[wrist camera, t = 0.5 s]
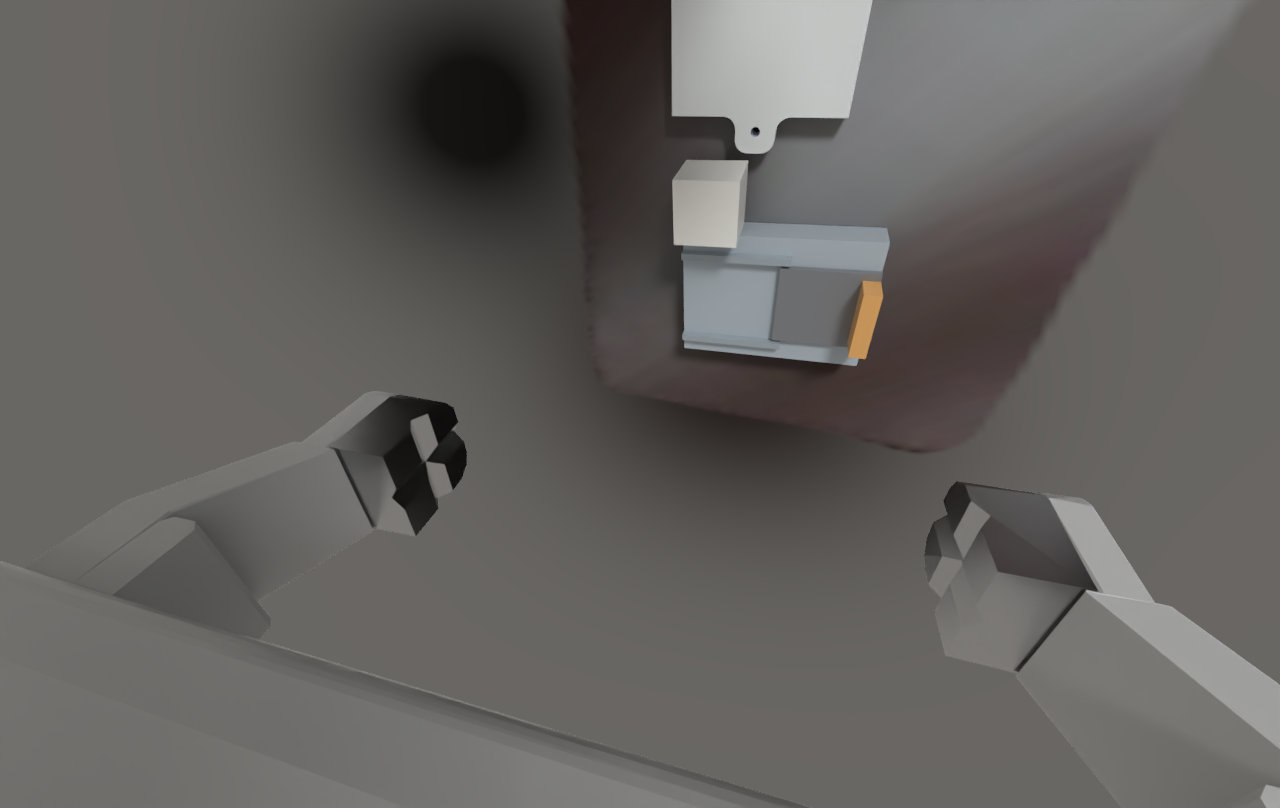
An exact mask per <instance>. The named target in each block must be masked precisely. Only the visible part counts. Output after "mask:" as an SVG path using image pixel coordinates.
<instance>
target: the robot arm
mask: <svg viewBox="0 0 1280 808" xmlns="http://www.w3.org/2000/svg"><path fill="white" fill-rule="evenodd" d="M457 424H458V419H457V416H456V413H455V410H454V407H452V406H450V405H448V404H447V403H444V402H438V401H432V400H427V399H421V398H416V397H410V396H404V395H396V394H391V393H385V392H380V391H374V392H368V393H366V394H364V395H363V396H361V397H360V398H359V399H358V400H356V401H355V402H354V403H352V404H351V405H350V406H348V407H347V408H346V409H344V410H343V411H342V412H341V413H339V414H338V415H337V416H335V417H334V418H333V419H331V420H330V421H329V422H327V423H326V424H325V425H324V426H322V427H321V428H320V429H318V430H317V431H316V432H314V433H313V434H312V435H311V436H309V437H308V438H307V439H305V440H304V441H303V442H301V443H298V442H291V443H288V444H285V445H283V446H280V447H277V448H274V449H271V450H268V451H265V452H263V453H260V454H257V455H254V456H251V457H248V458H246V459H243V460H240V461H237V462H234V463H232V464H229V465H226V466H223V467H220V468H217V469H214V470H212V471H209V472H206V473H203V474H200V475H197V476H194V477H192V478H189V479H186V480H183V481H180V482H177V483H174V484H172V485H169V486H166V487H163V488H160V489H157V490H155V491H152V492H149V493H146V494H143V495H141V496H138V497H135V498H132V499H129V500H127V501H124V502H122V503H121V504H119V505H118V506H116V507H115V508H113V509H112V510H110V511H109V512H107V513H106V514H104V515H102V516H101V517H99V518H98V519H97V520H95V521H93V522H92V523H90V524H89V525H87V526H86V527H84V528H83V529H81V530H80V531H78V532H77V533H75V534H74V535H72V536H71V537H69V538H68V539H66V540H64V541H63V542H61V543H60V544H58V545H57V546H55V547H54V548H52V549H51V550H49V551H48V552H46V553H45V554H43V555H42V556H40V557H39V558H37V559H36V560H34V561H33V562H31V563H30V564H28V565H27V566H25V567H24V568H21V567H18V566H15V565H11V564H8V563H5V562H1V561H0V808H812V807H808V806H805V805H802V804H798V803H795V802H792V801H788V800H785V799H782V798H779V797H775V796H772V795H769V794H765V793H762V792H759V791H756V790H752V789H749V788H745V787H742V786H739V785H736V784H732V783H729V782H726V781H723V780H719V779H716V778H713V777H710V776H706V775H703V774H700V773H696V772H693V771H690V770H687V769H683V768H680V767H676V766H673V765H670V764H667V763H663V762H660V761H657V760H654V759H650V758H647V757H644V756H640V755H637V754H634V753H630V752H627V751H624V750H620V749H617V748H614V747H611V746H607V745H604V744H600V743H597V742H594V741H591V740H588V739H584V738H581V737H578V736H575V735H571V734H568V733H564V732H562V731H558V730H555V729H551V728H548V727H545V726H542V725H538V724H535V723H531V722H528V721H525V720H522V719H519V718H515V717H512V716H509V715H505V714H502V713H499V712H496V711H492V710H489V709H486V708H483V707H479V706H476V705H473V704H469V703H466V702H463V701H460V700H456V699H453V698H449V697H446V696H443V695H440V694H436V693H433V692H430V691H427V690H423V689H420V688H417V687H413V686H410V685H407V684H404V683H400V682H397V681H394V680H390V679H387V678H384V677H380V676H377V675H374V674H371V673H367V672H364V671H360V670H357V669H354V668H351V667H347V666H344V665H341V664H337V663H334V662H331V661H328V660H324V659H321V658H318V657H314V656H311V655H308V654H305V653H301V652H298V651H295V650H291V649H288V648H285V647H281V646H278V645H275V644H272V643H268V642H265V641H261V640H259V639H260V638H261V637H262V636H263V635H264V634H265V633H266V632H267V630H268V629H269V628H270V626H271V618H270V616H269V615H268V614H267V613H266V611H265V610H264V609H263V607H262V606H261V605H260V604H259V602H258V601H260V600H261V599H263V598H265V597H266V596H268V595H269V594H271V593H273V592H274V591H276V590H278V589H279V588H281V587H283V586H284V585H286V584H288V583H289V582H291V581H292V580H294V579H296V578H297V577H299V576H301V575H302V574H304V573H306V572H307V571H309V570H310V569H312V568H314V567H315V566H317V565H318V564H320V563H322V562H323V561H325V560H327V559H328V558H330V557H332V556H333V555H335V554H336V553H338V552H340V551H341V550H343V549H345V548H346V547H348V546H350V545H351V544H353V543H354V542H356V541H358V540H359V539H361V538H363V537H364V536H366V535H368V534H369V533H371V532H372V531H373V528H374V529H379V530H385V531H390V532H395V533H400V534H406V535H411V536H417V535H418V533H419V532H420V531H421V530H422V528H423V527H424V526H425V525H426V523H427V522H428V521H429V520H430V518H431V517H432V516H433V515H434V514H435V512H436V511H437V510H438V507H439V506H438V498H439V497H441V496H443V495H445V494H447V493H449V492H451V491H453V490H454V488H455V487H456V486H457V484H458V483H459V482H460V481H461V479H462V477H463V474H464V471H465V468H466V465H467V451H466V447H465V443H464V441H463V440H462V439H461V438H460V437H459V436H458V435H457V433H456V432H455V431H454V429H455V428H456V426H457ZM943 501H944V505H945V508H946V512H947V515H946V516H944V517H942V518H940V519H938V520H936V521H934V522H933V524H932V526H931V529H930V531H929V534H928V536H927V540H926V546H925V554H924V561H925V571H926V576H927V581H928V585H929V586H930V587H931V588H932V589H933V590H934V591H935V592H936V593H937V594H938V595H939V596H940V597H941V601H940V602H939V604H938V606H937V608H936V610H935V615H936V620H937V624H938V628H939V632H940V636H941V640H942V644H943V649H944V653H945V656H948V657H952V658H957V659H960V660H964V661H968V662H972V663H976V664H980V665H984V666H988V667H992V668H996V669H1001V670H1004V671H1008V672H1013V673H1017V675H1016V678H1017V679H1018V680H1019V682H1020V683H1021V684H1022V685H1023V687H1024V688H1025V689H1026V690H1027V691H1028V693H1029V694H1030V695H1031V696H1032V698H1033V699H1034V700H1035V701H1036V702H1037V704H1038V705H1039V706H1040V708H1041V709H1042V710H1043V711H1044V712H1045V714H1046V715H1047V716H1048V717H1049V719H1050V720H1051V721H1052V722H1053V724H1054V725H1055V726H1056V727H1057V729H1058V730H1059V731H1060V732H1061V733H1062V735H1063V736H1064V737H1065V738H1066V740H1067V741H1068V742H1069V743H1070V745H1071V746H1072V747H1073V748H1074V750H1075V751H1076V752H1077V753H1078V755H1079V756H1080V757H1081V758H1082V759H1083V761H1084V762H1085V763H1086V764H1087V766H1088V767H1089V768H1090V769H1091V771H1092V772H1093V773H1094V774H1095V776H1096V777H1097V778H1098V779H1099V780H1100V782H1101V783H1102V784H1103V785H1104V787H1105V788H1106V789H1107V790H1108V791H1109V793H1110V794H1111V795H1112V796H1113V798H1114V799H1115V800H1116V801H1117V803H1118V804H1119V805H1120V806H1121V808H1280V685H1279V684H1278V683H1276V682H1275V681H1274V680H1272V679H1271V678H1270V677H1268V676H1267V675H1265V674H1264V673H1262V672H1261V671H1260V670H1258V669H1257V668H1256V667H1254V666H1253V665H1252V664H1250V663H1249V662H1247V661H1246V660H1244V659H1243V658H1242V657H1240V656H1239V655H1238V654H1236V653H1235V652H1233V651H1232V650H1231V649H1229V648H1228V647H1227V646H1225V645H1224V644H1222V643H1221V642H1220V641H1218V640H1217V639H1215V638H1214V637H1213V636H1211V635H1210V634H1209V633H1207V632H1206V631H1204V630H1203V629H1202V628H1200V627H1199V626H1197V625H1196V624H1195V623H1193V622H1192V621H1191V620H1189V619H1188V618H1186V617H1185V616H1184V615H1182V614H1181V613H1179V612H1178V611H1177V610H1175V609H1174V608H1172V607H1171V606H1166V605H1161V604H1156V603H1155V602H1154V601H1153V599H1152V598H1151V596H1150V595H1149V593H1148V591H1147V590H1146V588H1145V587H1144V585H1143V584H1142V582H1141V580H1140V579H1139V577H1138V576H1137V574H1136V573H1135V571H1134V570H1133V568H1132V567H1131V565H1130V563H1129V562H1128V561H1127V559H1126V557H1125V556H1124V554H1123V553H1122V551H1121V550H1120V548H1119V546H1118V545H1117V543H1116V542H1115V540H1114V539H1113V537H1112V535H1111V534H1110V532H1109V531H1108V529H1107V528H1106V526H1105V525H1104V523H1103V522H1102V520H1101V518H1100V517H1099V515H1098V514H1097V512H1096V511H1095V509H1094V508H1093V506H1092V505H1091V504H1090V503H1088V502H1087V501H1085V500H1084V499H1082V498H1076V497H1068V496H1061V495H1053V494H1046V493H1032V492H1025V491H1018V490H1012V489H1005V488H998V487H991V486H984V485H978V484H971V483H964V482H958V481H957V482H955V483H954V484H953V485H952V486H951V487H950V488H949V490H948V492H947V495H946V496H945V498H944V500H943Z"/></svg>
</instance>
